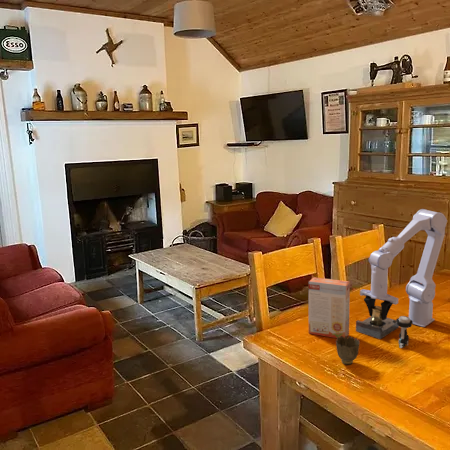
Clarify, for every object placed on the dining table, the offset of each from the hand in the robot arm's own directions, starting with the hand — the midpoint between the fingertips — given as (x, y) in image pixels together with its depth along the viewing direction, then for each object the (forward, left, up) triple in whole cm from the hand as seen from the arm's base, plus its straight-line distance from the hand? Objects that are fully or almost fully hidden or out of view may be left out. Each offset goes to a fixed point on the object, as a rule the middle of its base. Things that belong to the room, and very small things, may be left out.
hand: (377, 317), depth 172 cm
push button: (+6, +13, -5) cm, 15 cm away
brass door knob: (0, 0, -2) cm, 2 cm away
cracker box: (+16, -11, -5) cm, 20 cm away
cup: (+30, +6, -5) cm, 31 cm away
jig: (0, 0, -5) cm, 5 cm away
